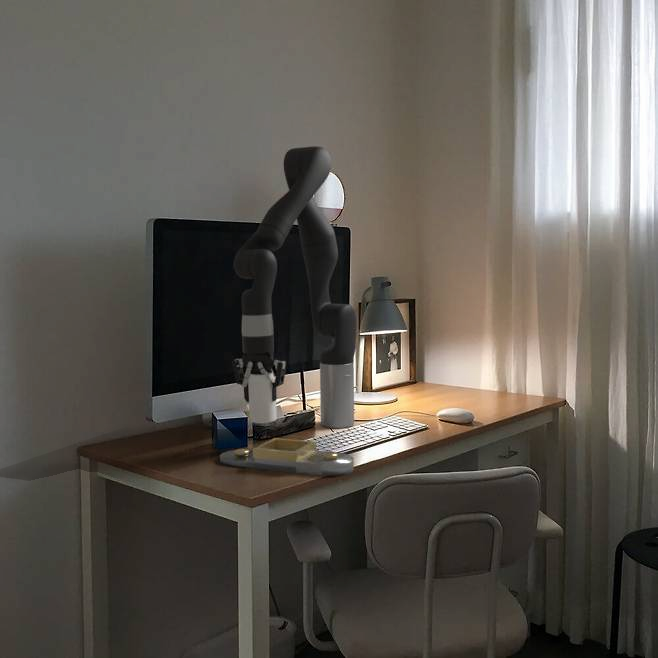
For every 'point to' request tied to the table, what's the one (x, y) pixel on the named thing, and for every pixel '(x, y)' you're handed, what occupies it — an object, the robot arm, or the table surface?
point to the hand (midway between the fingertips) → (260, 402)
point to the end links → (290, 458)
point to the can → (261, 399)
